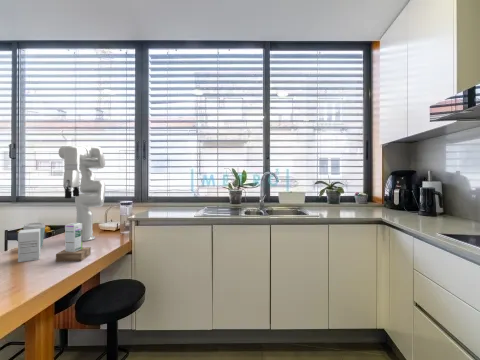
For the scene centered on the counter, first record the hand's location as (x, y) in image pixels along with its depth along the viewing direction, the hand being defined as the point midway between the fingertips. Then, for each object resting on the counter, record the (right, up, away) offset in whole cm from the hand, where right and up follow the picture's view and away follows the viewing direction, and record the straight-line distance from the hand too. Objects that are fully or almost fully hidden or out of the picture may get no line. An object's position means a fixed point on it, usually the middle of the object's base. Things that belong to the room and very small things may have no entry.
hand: (72, 197), depth 156 cm
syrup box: (+8, -28, -12) cm, 32 cm away
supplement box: (-14, -32, -14) cm, 37 cm away
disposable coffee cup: (-25, -31, +5) cm, 41 cm away
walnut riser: (+8, -32, -12) cm, 35 cm away
